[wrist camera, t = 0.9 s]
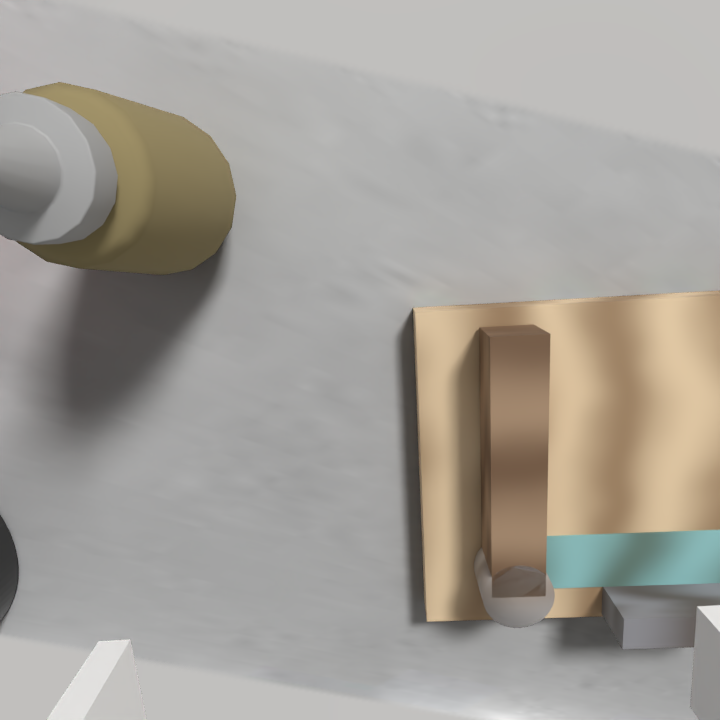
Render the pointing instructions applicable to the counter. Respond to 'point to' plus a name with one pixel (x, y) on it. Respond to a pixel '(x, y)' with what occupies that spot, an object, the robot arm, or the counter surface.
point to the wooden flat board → (587, 459)
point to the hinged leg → (514, 474)
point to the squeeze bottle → (110, 182)
